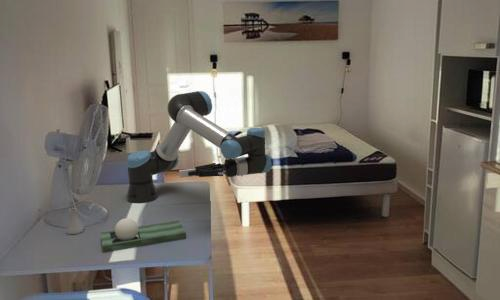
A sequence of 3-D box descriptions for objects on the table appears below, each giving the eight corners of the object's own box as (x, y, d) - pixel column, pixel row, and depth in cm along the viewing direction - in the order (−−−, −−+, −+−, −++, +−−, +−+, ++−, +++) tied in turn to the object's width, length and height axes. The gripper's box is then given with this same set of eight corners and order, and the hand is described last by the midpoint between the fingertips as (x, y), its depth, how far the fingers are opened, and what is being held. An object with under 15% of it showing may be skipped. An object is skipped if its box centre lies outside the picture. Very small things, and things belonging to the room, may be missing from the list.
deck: (101, 238, 194) (100, 232, 193) (179, 225, 204) (178, 220, 204) (103, 252, 181) (102, 246, 181) (186, 238, 191) (185, 232, 191)
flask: (78, 235, 198) (75, 212, 195) (62, 234, 199) (59, 212, 197) (87, 228, 205) (85, 206, 202) (72, 227, 206) (69, 206, 204)
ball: (126, 215, 195) (135, 235, 196) (107, 224, 189) (116, 245, 190) (137, 213, 189) (145, 234, 189) (117, 223, 182) (126, 244, 183)
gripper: (240, 180, 195) (183, 187, 188) (231, 171, 207) (177, 178, 200) (239, 162, 193) (182, 169, 186) (230, 155, 205) (176, 161, 198)
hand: (179, 174), depth 193 cm, fingers closed
